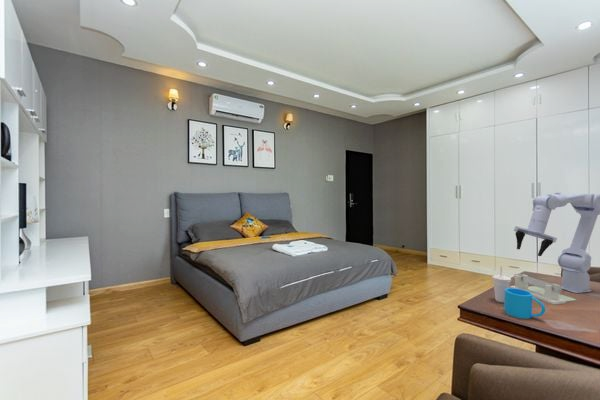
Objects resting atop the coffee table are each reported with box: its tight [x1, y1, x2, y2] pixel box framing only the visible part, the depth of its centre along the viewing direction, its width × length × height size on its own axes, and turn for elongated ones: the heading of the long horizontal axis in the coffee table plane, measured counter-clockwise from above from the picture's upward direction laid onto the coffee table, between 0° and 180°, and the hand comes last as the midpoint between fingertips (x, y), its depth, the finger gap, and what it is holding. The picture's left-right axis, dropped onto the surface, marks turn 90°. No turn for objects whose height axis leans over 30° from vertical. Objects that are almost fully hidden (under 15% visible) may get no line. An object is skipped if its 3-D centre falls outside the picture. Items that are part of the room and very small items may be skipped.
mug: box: [503, 287, 546, 319], centre depth 106 cm, size 12×8×8 cm
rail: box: [513, 273, 562, 293], centre depth 126 cm, size 2×18×2 cm, turn 13°
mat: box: [528, 285, 578, 303], centre depth 128 cm, size 7×17×1 cm, turn 13°
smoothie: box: [492, 266, 512, 303], centre depth 120 cm, size 6×6×14 cm
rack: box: [509, 273, 567, 305], centre depth 126 cm, size 6×19×7 cm, turn 13°
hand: (528, 252), depth 125 cm, fingers open, 7 cm apart
